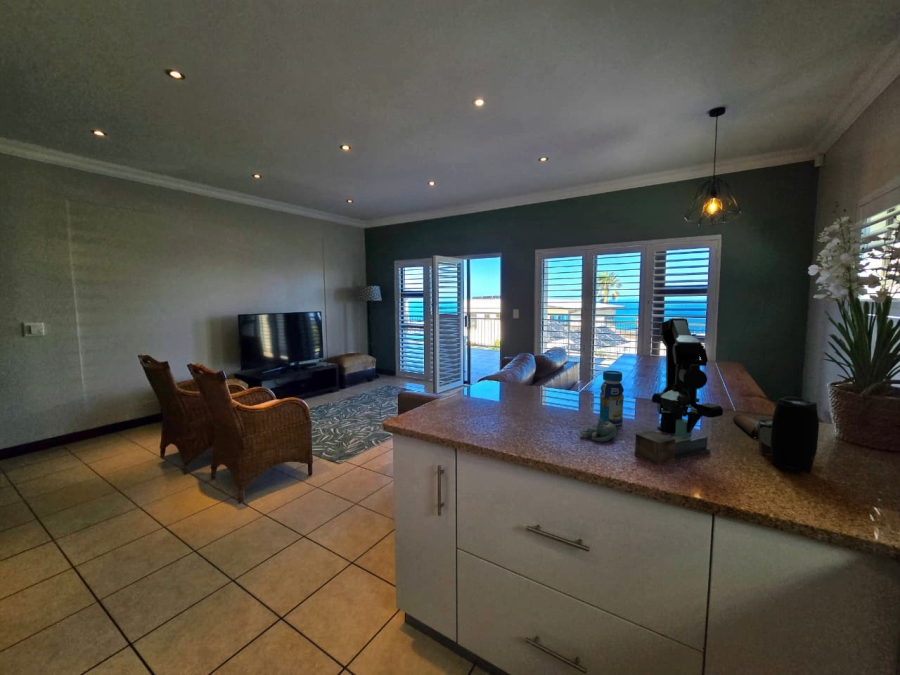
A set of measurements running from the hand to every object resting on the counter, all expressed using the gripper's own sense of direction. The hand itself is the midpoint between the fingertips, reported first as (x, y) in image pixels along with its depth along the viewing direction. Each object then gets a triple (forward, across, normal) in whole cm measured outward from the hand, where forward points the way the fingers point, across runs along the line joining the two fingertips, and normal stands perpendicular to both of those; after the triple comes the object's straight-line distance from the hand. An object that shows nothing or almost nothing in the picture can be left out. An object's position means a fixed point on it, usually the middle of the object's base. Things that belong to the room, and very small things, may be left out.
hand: (683, 430), depth 112 cm
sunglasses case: (+7, -1, +41) cm, 42 cm away
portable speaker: (+7, +20, +16) cm, 26 cm away
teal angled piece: (+5, 0, -5) cm, 7 cm away
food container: (+7, +12, +25) cm, 29 cm away
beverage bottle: (+7, -29, +1) cm, 30 cm away
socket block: (+6, 0, -13) cm, 14 cm away
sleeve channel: (+6, 0, -1) cm, 7 cm away
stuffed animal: (+7, -19, -15) cm, 25 cm away
